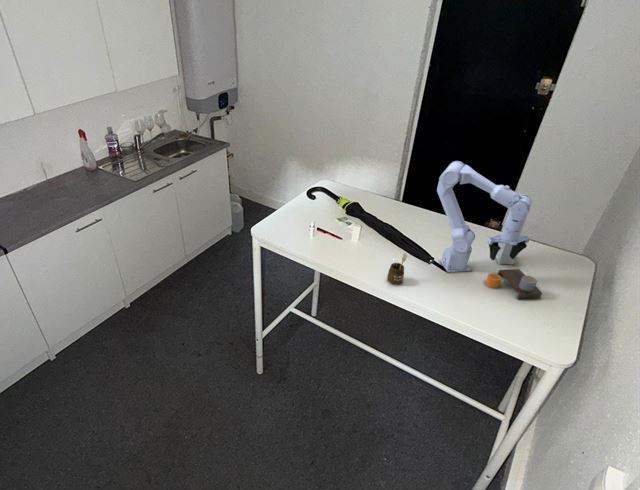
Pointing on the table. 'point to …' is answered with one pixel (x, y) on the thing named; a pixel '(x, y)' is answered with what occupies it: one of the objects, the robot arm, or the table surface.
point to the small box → (504, 254)
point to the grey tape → (527, 283)
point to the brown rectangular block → (514, 279)
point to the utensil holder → (396, 272)
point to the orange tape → (493, 280)
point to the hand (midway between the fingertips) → (501, 258)
